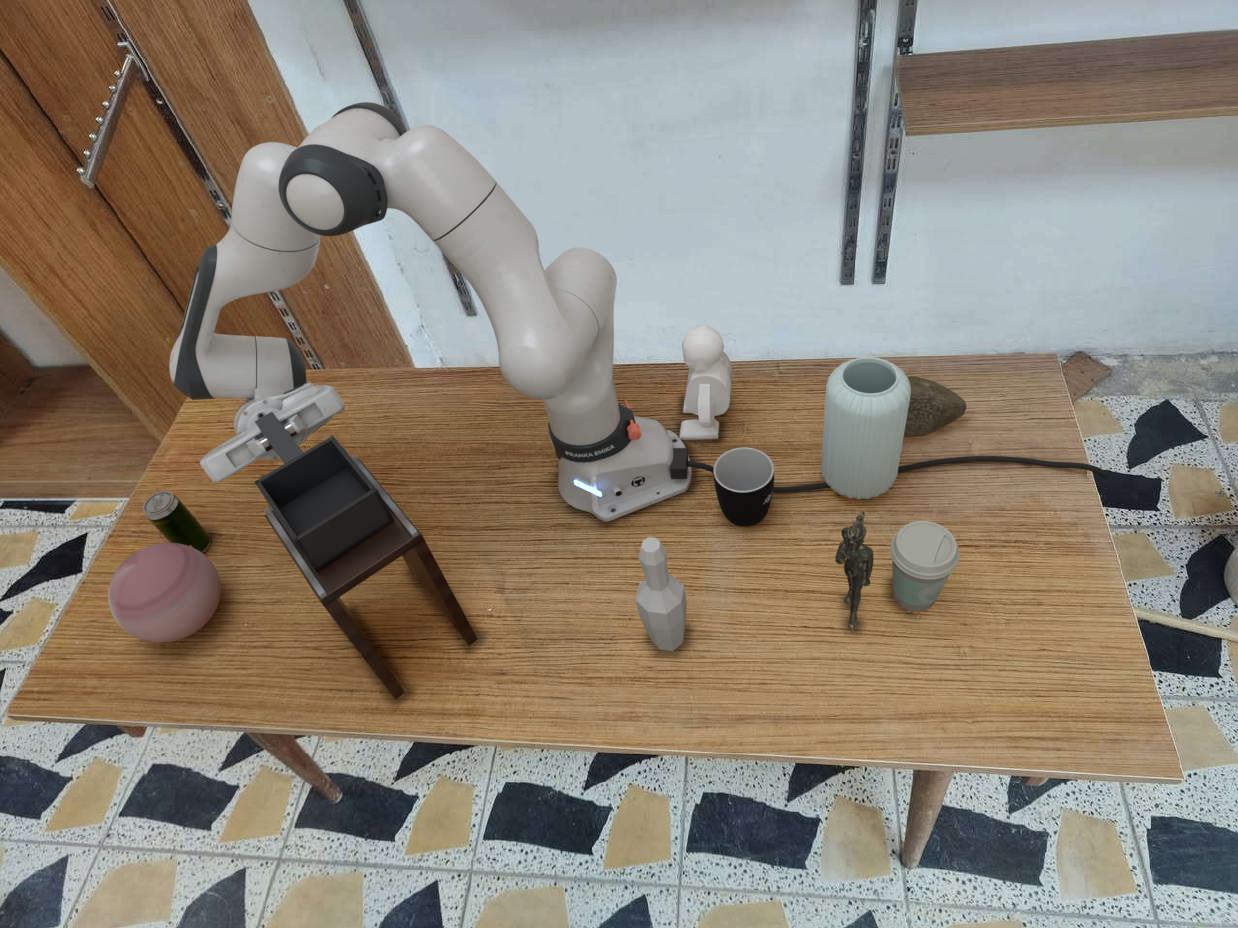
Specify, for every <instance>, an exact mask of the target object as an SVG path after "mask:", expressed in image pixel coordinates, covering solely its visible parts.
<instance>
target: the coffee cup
mask: <svg viewBox="0 0 1238 928" xmlns="http://www.w3.org/2000/svg"><path fill="white" fill-rule="evenodd" d="M889 552H890V556H891V558H892V559H891V560H892V561H891V562H892V563H891V565H892V594H893V595H892V596H893V598H894V600H895V601H896V603H897V604H898V605H899V606H901V607H902V608H904V609H906V610H908V611H911V612H925V611H927V610H929V609H931V608H932V607H933V606H934V605H935V604H936V601H937V600H938V598H939V597H940V595H941V593H942V591H943V589H944V586H945V585H946V582H947V580H948V578H950V575H951V573H953V571H955V570H956V568H957V566H958V565H959V562H960V549H959V546H958V542H957V540H956V538H955V536H954V535H953V534H952V532H951V531H950V530H949V529H948V528H946V527H945V526H943V525H941V524H940V523H937V522H933V521H929V520H916V521H915V520H914V521H912V522H909V523H907V524H905V525H903V526H902V527H901V528H900V529H899V530H898V531H897V532H896V533H895V535H894V536H893V538H892V540H891V542H890V547H889Z"/></svg>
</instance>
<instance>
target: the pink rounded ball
mask: <svg viewBox="0 0 1238 928" xmlns="http://www.w3.org/2000/svg"><path fill="white" fill-rule="evenodd" d="M108 585H109V586H108V590H107V601H108V607H109V611H110V613H111V615H112V617H113V619H114V620H115V622H116V624H117V625H118V626H119V627H120V628H121V629H122V630H123V631H125V632H126V633H127V634H129V635H130V636H132V637H134V638H136V639H138V640H141V641H145V642H150V643H158V644H159V643H161V644H163V643H171V642H172V643H173V642H176V641H180V640H183V639H185V638H188V637H190V636H192V635H194V634H195V633H196V632H198V631H199V630H201V629H202V628H203V627H204V626H205V625H206V624H207V623H208V622H209V621H210V620H211V618H212V617H213V616H214V614H215V612H216V611H217V609H218V606H219V603H220V600H221V592H222V586H221V585H222V584H221V579H220V575H219V572H218V570H217V568H216V567H215V565H214V563H213V562H212V561H211V560H210V558H208V557H207V556H206V555H205V553H201V552H200V551H198V550H196V549H194V548H192V547H190V546H187V545H183V544H178V543H170V542H159V543H154V544H150V545H147V546H145V547H143V548H140V549H138V550H136V551H134V552H133V553H131V554H130V555H129V556H127V557H126V558H125V559H124V560H123V561H122V562H121V563H120V564H119V565H118V567H117V568H116V570H115V571H114V573H113V575H112V577H111V580H110V582H109V584H108Z"/></svg>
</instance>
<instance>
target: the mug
mask: <svg viewBox="0 0 1238 928" xmlns="http://www.w3.org/2000/svg"><path fill="white" fill-rule="evenodd" d="M713 467H714V469H713V473H712V475H713V483H714V489H715V493H716V498H717V501H718V504H719V507H720V510H721V512H722V514H723V515H724V517H725V518H726V520H727V521H729V523H731V524H732V525H735V526H737V527H741V528H750V527H753V526H756V525H758V524H760V523H761V522H763V520H764V519H765V518H766V517H767V514H768V513H769V511H770V507H771V504H772V500H773V494H774V493H773V487H775V465H774V462H773V461H772V459H771V457H770V456H769V455H767V453H765V452H763V451H762V450H759V449H757V448H753V447H744V446H743V447H736V448H732V449H729V450H727V451H725V452H723V453H722V454H721V455H720V456H719V457H718V458H717V459H716V461H715V462H714V465H713Z"/></svg>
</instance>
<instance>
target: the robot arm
mask: <svg viewBox="0 0 1238 928" xmlns="http://www.w3.org/2000/svg"><path fill="white" fill-rule="evenodd" d="M235 181H236V182H235V185H234V191H233V197H232V206H231V216H230V217H231V219H230V226H229V229H228V231H227V232H226V234H225V235H224V236H223V237H222V239H221V240H219V241H218V243H216V244H212V245H210V246H208V247H206V248H205V249H204V251H202V254H201V255H200V257H199V260H198V263H197V266H196V269H195V271H194V276H193V279H192V283H191V287H190V290H189V294H188V298H187V303H186V306H185V309H184V314H183V318H182V322H181V325H180V328H179V331H178V334H177V337H176V341H175V343H174V344H173V346H172V349H171V352H170V355H169V366H168V369H169V376H170V379H171V381H172V385H173V386H174V387H175V389H177V390H178V391H179V392H180V393H182V394H183V395H185V396H186V397H187V398H189V399H191V400H192V401H197V400H215V399H232V400H233V399H234V400H235V399H236V400H237V399H238V400H241V399H242V400H243V399H244V400H245V401H243V402H242V403H241V404H240V406H239V407H238V408H237V409H236V412H235V414H234V417H233V429H234V430H233V431H234V433H235V436H233V437H231V438H229V439H227V440H226V441H224V442H222V443H221V444H219V445H217V446H215V447H214V448H212V449H211V450H210V451H208V452H206V453H205V454H204V455H203V456H202V457H201V459H200V460H199V465H200V467H201V468H202V470H203V471H204V473H205V474H206V475H207V476H208V478H209V479H210V481H212V483H214V484H216V483H221V482H223V481H224V480H226V479H228V478H229V477H231V476H232V475H234V474H236V473H238V472H240V471H242V470H243V469H244V468H246V467H249V466H250V465H252V464H253V463H255V462H257V461H259V460H264V461H275V460H276V461H277V460H281V458H280V457H279V456H278V454H277V453H276V451H275V450H274V449H273V447H272V445H271V444H270V443H269V441H268V440H267V438H266V437H265V436H264V435H263V433H262V432H261V430H260V429H259V427H258V426H257V425H256V423H255V421H256V420H258V419H260V418H261V417H263V416H265V415H267V414H269V413H270V412H273V413H274V415H275V416H276V417H277V419H278V420H279V421H280V422H281V424H282V425H283V426H284V428H285V429H286V430H287V432H288V433H289V434H290V436H291V437H292V438H293V440H294V441H295V442H296V444H297V445H298V446H300V445H302V444H303V443H304V441H306V440H307V438H308V437H309V436H311V435H312V434H314V433H315V432H316V431H318V430H319V429H321V428H322V427H323V426H326V424H328V423H329V422H330V421H332V420H333V419H334V416H335V415H337V414H340V413H341V412H343V411H345V409H346V405H345V403H344V401H343V400H342V398H341V396H340V395H339V393H338V392H337V390H336V389H335V388H334V387H333V386H332V385H329V384H323V383H321V384H316V385H315V384H313V382H311V381H308V382H307V368H306V362H305V359H304V356H303V354H302V353H301V351H300V350H299V349H298V347H297V346H296V345H295V343H294V342H292V341H291V340H290V339H288V338H287V337H275V336H259V335H255V336H254V335H239V334H238V335H237V334H222V333H216V332H215V330H216V327H217V324H218V321H219V316H220V313H221V310H222V309H223V308H224V307H225V306H226V305H227V304H229V303H232V302H233V301H236V300H239V299H243V298H247V297H250V296H254V295H260V294H268V293H275V292H279V291H283V290H286V289H289V288H292V287H293V286H295V285H297V284H299V283H301V282H302V281H303V280H304V279H305V278H307V277H308V276H309V274H310V273H311V272H312V270H313V269H314V266H315V264H316V261H317V257H318V254H319V249H320V244H321V236H323V237H336V236H337V237H338V236H341V235H345V234H347V233H351V232H353V231H355V230H357V229H359V228H362V227H365V226H368V225H370V224H373V223H377V222H380V221H382V220H384V219H385V217H386V215H387V212H388V209H391V210H397V211H400V212H402V213H404V214H405V215H407V216H408V217H409V218H411V219H412V220H413V221H414V222H415V223H416V224H417V225H418V226H419V228H420V229H421V230H422V231H423V232H424V233H425V234H426V236H427V237H428V238H429V239H430V240H431V241H432V242H433V243H434V244H435V245H436V247H437V248H438V249H439V250H440V251H441V252H442V253H443V254H444V255H445V257H446V258H447V259H448V260H449V261H450V262H451V264H453V266H454V267H455V268H456V269H457V270H458V272H460V274H461V275H462V276H463V277H464V278H465V279H466V281H467V282H468V283H469V285H470V287H472V289H473V290H474V292H475V293H476V295H477V297H478V299H479V300H480V303H481V305H482V306H483V309H484V311H485V313H486V315H487V317H488V319H489V322H490V324H491V327H492V330H493V333H494V336H495V341H496V344H497V351H498V366H499V370H500V373H501V375H502V377H503V378H504V380H505V382H506V383H507V384H508V385H509V386H510V387H511V388H512V389H514V390H515V392H517V393H519V394H520V395H523V396H524V397H527V398H532V399H535V400H542V403H543V407H544V409H545V414H546V417H547V420H548V424H547V425H548V436H549V440H550V443H551V446H552V449H553V453H555V456H556V458H557V463H558V476H557V489H558V492H559V495H560V497H561V498H562V500H564V501H565V503H567V505H569V506H571V507H572V508H574V509H577V510H580V511H584V512H587V513H590V514H592V515H593V516H595V517H596V518H597V519H599V520H600V521H601V522H610V521H613V520H616V519H619V518H621V517H624V516H627V515H629V514H632V513H634V512H636V511H639V510H643V509H644V508H647V507H650V506H652V505H655V504H657V503H660V502H662V501H665V500H668V499H670V498H672V497H675V496H677V495H680V494H683V493H685V492H687V491H688V490H689V487H690V486H691V484H692V477H693V468H694V469H698V470H704V471H707V472H710V473H711V474H713V469H714V465H710V464H707V463H704V462H697V461H692V460H690V459H691V458H690V456H689V451H688V447H686V446H685V444H684V442H683V440H681V439H680V438H679V435H677V434H676V433H674V432H673V431H672V430H669V429H666V428H665V427H664V425H663V424H662V423H661V422H660V421H658V420H656V419H654V418H649V417H643V416H640V415H639V416H638V415H635V414H634V411H633V410H632V409H631V407H630V403H629V402H628V400H627V398H624V403H625V406H624V405H622V404H620V403H619V400H618V395H617V388H616V384H615V377H614V376H615V375H614V347H615V325H614V322H615V321H614V317H615V316H614V313H615V299H616V293H617V292H616V291H617V284H618V278H617V273H616V271H615V268H614V267H613V265H612V263H611V262H610V261H609V260H608V259H607V258H606V257H605V256H604V255H602V253H599V252H598V251H596V250H593V249H590V248H587V247H572V248H569V249H566V250H565V251H563V252H562V253H561V254H560V255H558V257H556V258H555V259H554V260H553V261H551V263H550V264H549V265H547V267H546V268H545V269H544V265H543V262H542V258H541V254H540V245H539V237H538V233H537V231H536V229H535V227H534V224H533V223H532V222H531V221H530V220H529V218H527V216H526V215H525V214H524V212H522V210H521V209H520V208H519V206H518V205H517V204H516V203H515V202H514V201H513V200H512V198H511V197H510V196H509V194H508V193H507V192H506V191H505V190H504V188H503V187H502V186H501V185H500V183H498V181H496V179H495V178H494V177H493V175H492V174H491V173H490V172H489V171H488V170H487V169H486V168H485V167H484V166H483V165H482V164H481V162H479V160H478V159H477V158H475V156H474V155H473V154H471V153H470V152H469V151H468V149H467V148H465V147H464V146H463V145H462V144H461V143H460V142H459V141H457V140H456V139H455V138H453V136H451V135H450V134H448V132H446V131H445V130H443V129H442V128H440V127H438V126H435V125H428V124H427V125H426V124H425V125H420V126H416V127H413V128H411V129H409V130H407V128H406V126H405V125H404V123H403V121H402V120H401V119H400V118H399V116H398V115H396V113H394V112H393V111H392V110H390V109H389V108H387V107H386V106H384V105H382V104H379V103H376V102H363V101H362V102H357V103H352V104H350V105H347V106H345V107H343V108H341V109H339V110H338V111H336V113H334V114H333V116H332V117H331V118H329V119H328V120H327V121H325V122H324V123H322V124H319V125H317V127H315V128H314V129H313V130H312V131H311V132H310V133H309V134H308V135H307V136H306V137H305V138H304V139H303V140H302V142H301V143H300V144H299V146H298V147H297V146H294V145H291V144H289V143H288V144H287V143H284V142H279V141H278V142H277V141H267V142H263V143H258V144H257V145H254V146H252V147H251V148H250V149H249V150H248V151H247V152H246V153H245V154H244V156H243V158H242V160H241V163H240V166H239V170H238V174H237V177H236V180H235ZM963 463H1008V464H1009V463H1010V464H1021V465H1029V466H1030V465H1031V466H1038V467H1044V468H1046V467H1047V468H1055V469H1076V470H1085V471H1089V472H1092V473H1095V474H1097V475H1098V476H1099V477H1101V478H1103V479H1109V478H1110V475H1109V473H1108V472H1107V471H1106V470H1104V469H1102V468H1100V467H1098V466H1096V465H1092V464H1090V463H1089V464H1088V463H1083V462H1069V461H1053V460H1052V461H1051V460H1044V459H1036V458H1035V459H1034V458H1028V457H1019V456H1018V457H1017V456H1004V455H1003V456H1001V455H969V456H956V457H947V458H946V457H945V458H939V459H931V460H926V461H921V462H920V461H919V462H915V463H911V464H905V465H901V466H900V465H899V467H898V473H897V474H900V473H904V472H909V471H913V470H920V469H924V468H925V469H926V468H930V467H936V466H942V465H943V466H944V465H950V464H951V465H953V464H963ZM823 489H831V486H829V485H828V484H827V483H826V482H825V481H824V482H818V483H809V484H801V485H792V486H774V487H773V494H774V493H775V494H781V493H782V494H784V493H785V494H786V493H788V494H789V493H799V492H805V491H817V490H823Z"/></svg>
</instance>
